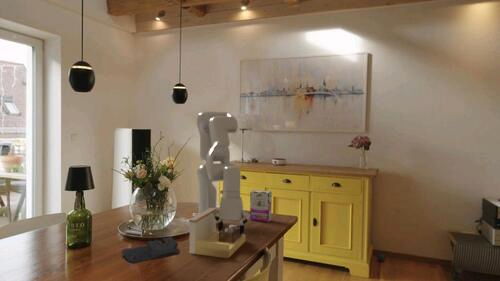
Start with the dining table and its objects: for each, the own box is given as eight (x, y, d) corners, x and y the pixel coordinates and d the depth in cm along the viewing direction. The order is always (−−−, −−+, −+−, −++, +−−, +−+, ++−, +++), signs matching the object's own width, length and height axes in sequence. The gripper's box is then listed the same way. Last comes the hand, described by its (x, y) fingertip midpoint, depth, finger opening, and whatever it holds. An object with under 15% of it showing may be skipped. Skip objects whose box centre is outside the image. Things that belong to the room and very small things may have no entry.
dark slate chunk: (117, 254, 146) (117, 242, 146) (168, 243, 160) (168, 233, 160) (130, 266, 134) (130, 253, 134) (183, 254, 148) (183, 242, 147)
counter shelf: (188, 253, 147) (188, 219, 146) (210, 237, 169) (210, 207, 168) (227, 258, 142) (228, 223, 141) (245, 241, 163) (245, 210, 163)
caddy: (219, 241, 153) (219, 230, 153) (228, 233, 165) (229, 223, 165) (233, 242, 152) (233, 232, 151) (242, 234, 163) (242, 224, 163)
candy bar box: (271, 220, 199) (272, 191, 199) (268, 222, 195) (269, 192, 194) (253, 218, 204) (253, 189, 203) (249, 220, 199) (250, 191, 198)
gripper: (210, 194, 156) (209, 232, 157) (247, 197, 151) (247, 237, 152) (216, 191, 163) (216, 228, 164) (252, 193, 158) (252, 232, 159)
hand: (231, 232), depth 158 cm, fingers open, 9 cm apart
